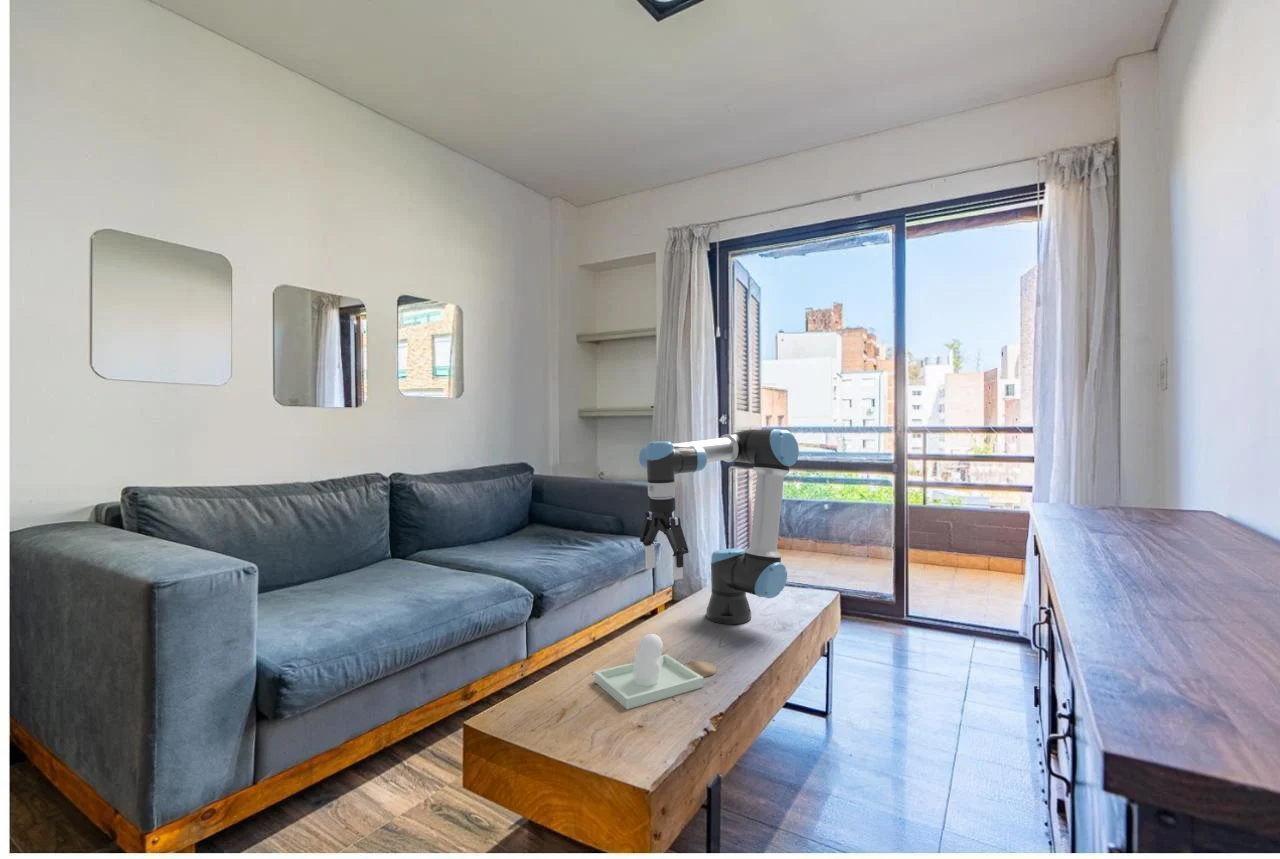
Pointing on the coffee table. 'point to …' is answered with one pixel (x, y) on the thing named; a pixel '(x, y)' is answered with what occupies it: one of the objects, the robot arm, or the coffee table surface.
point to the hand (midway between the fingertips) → (663, 573)
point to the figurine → (648, 660)
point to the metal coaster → (702, 668)
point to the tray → (632, 695)
